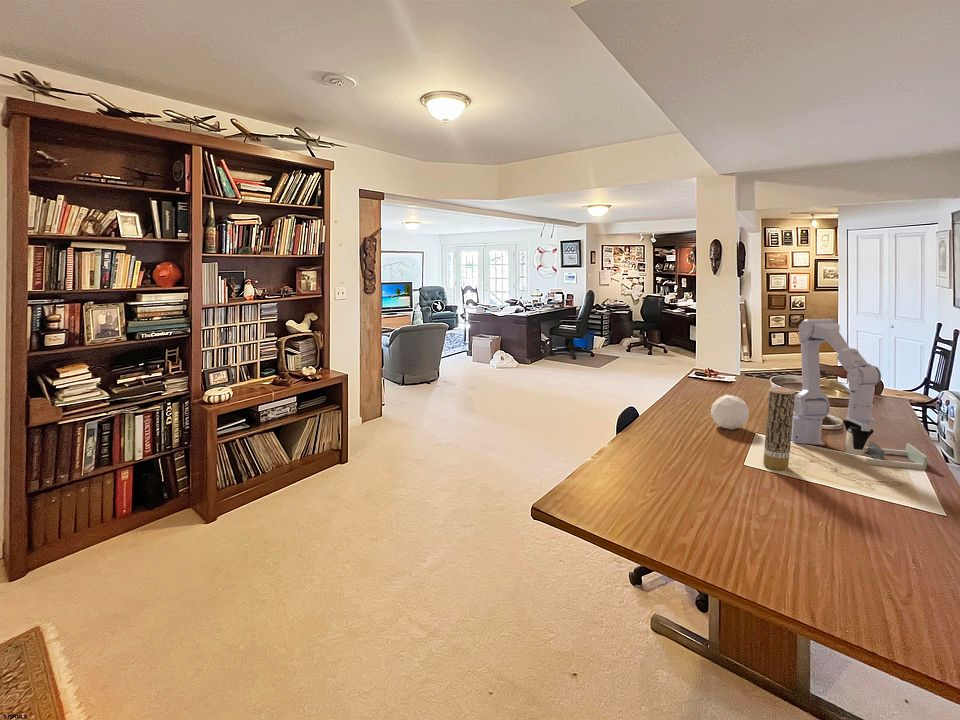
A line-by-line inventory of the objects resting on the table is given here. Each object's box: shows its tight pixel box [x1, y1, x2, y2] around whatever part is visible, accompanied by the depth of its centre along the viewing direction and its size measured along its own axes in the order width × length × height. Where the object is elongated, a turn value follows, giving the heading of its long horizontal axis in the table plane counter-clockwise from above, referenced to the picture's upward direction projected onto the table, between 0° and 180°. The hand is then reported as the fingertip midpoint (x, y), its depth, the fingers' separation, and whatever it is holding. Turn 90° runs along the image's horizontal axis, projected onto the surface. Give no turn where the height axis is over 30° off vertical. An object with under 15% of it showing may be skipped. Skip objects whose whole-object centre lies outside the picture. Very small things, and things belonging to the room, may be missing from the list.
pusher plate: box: [867, 439, 885, 460], centre depth 158 cm, size 1×10×4 cm, turn 158°
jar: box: [844, 428, 867, 456], centre depth 152 cm, size 5×5×7 cm
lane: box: [865, 443, 929, 470], centre depth 156 cm, size 15×13×4 cm
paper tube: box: [762, 386, 796, 471], centre depth 151 cm, size 7×7×25 cm
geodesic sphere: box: [710, 393, 750, 431], centre depth 191 cm, size 14×14×14 cm
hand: (855, 446), depth 153 cm, fingers closed on jar, 5 cm apart
